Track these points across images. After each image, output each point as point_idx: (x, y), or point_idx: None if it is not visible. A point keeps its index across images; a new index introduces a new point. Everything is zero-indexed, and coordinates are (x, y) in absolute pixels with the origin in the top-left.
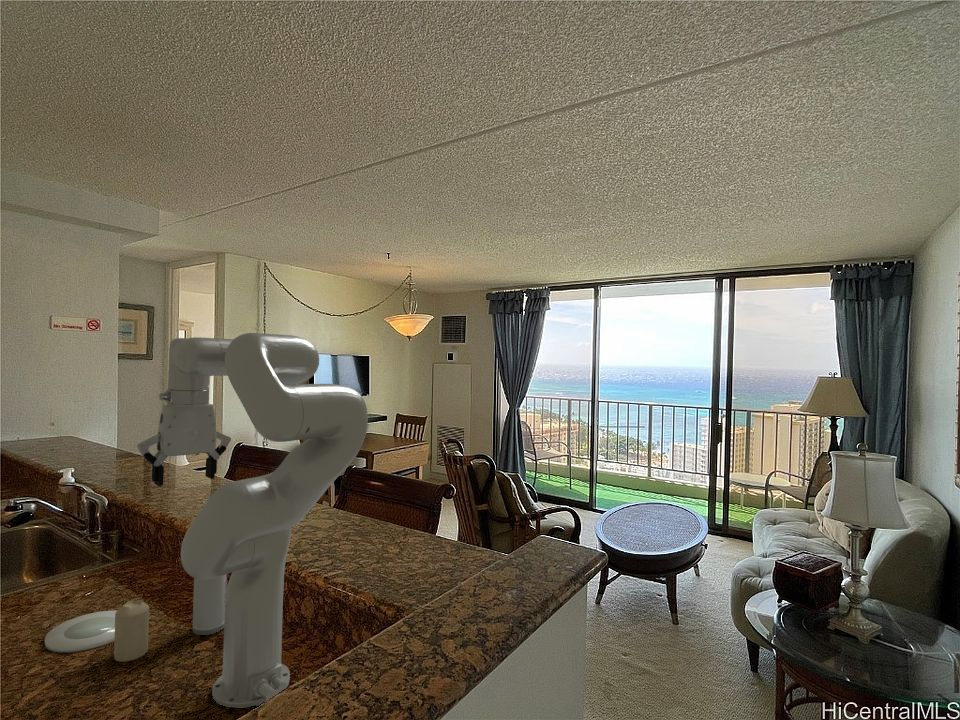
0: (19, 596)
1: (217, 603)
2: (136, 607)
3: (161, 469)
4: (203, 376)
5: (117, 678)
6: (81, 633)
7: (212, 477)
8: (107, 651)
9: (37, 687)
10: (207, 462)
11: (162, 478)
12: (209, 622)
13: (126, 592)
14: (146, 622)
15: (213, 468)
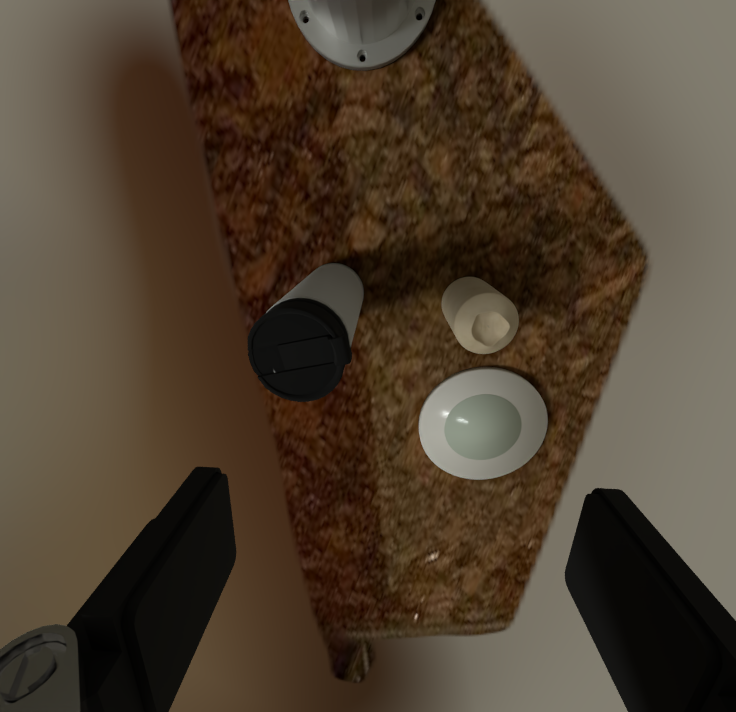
0: (506, 606)
1: (322, 272)
2: (488, 309)
3: (715, 618)
4: None
5: (513, 233)
6: (501, 417)
7: (209, 469)
8: None
9: (600, 302)
10: (173, 658)
11: (631, 530)
12: (342, 268)
13: (390, 523)
14: (461, 295)
15: (161, 529)
